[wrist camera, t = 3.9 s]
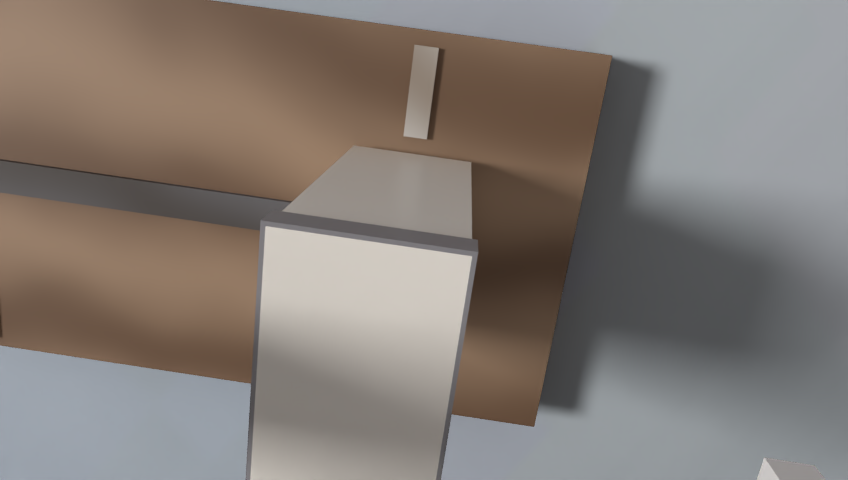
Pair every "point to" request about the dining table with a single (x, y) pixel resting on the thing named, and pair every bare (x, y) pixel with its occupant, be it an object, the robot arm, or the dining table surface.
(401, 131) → the brown flat wooden board
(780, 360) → the dining table surface
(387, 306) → the fader
